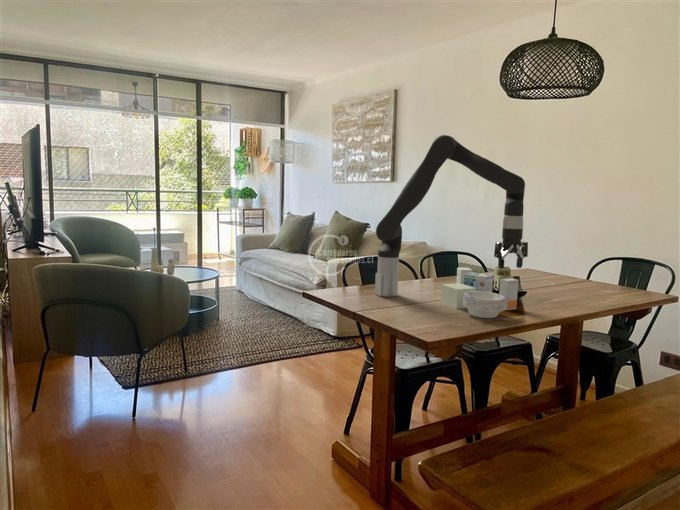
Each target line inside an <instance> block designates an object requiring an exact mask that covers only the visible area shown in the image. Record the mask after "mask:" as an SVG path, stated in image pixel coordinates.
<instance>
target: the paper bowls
mask: <svg viewBox="0 0 680 510" xmlns="http://www.w3.org/2000/svg"><path fill="white" fill-rule="evenodd" d="M505 301H506V298H505V297H504V296H502V295H500V294H499V293H496V292H492V293H491V292H482V291H470V292H466V293H464V299H463V306H464V307H465V308H464V309H467V311H468V314H469V315H470V316H472V317H475V318H479V319H493V318H497V317H498V316H499V315H500V313H502V312H504V311H506V310H505Z"/></svg>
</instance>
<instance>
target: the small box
mask: <svg viewBox="0 0 680 510" xmlns="http://www.w3.org/2000/svg"><path fill="white" fill-rule="evenodd" d="M470 272H474V270H473V269H471V268H470V267H457V268H456V283H460V284H464V274H466V273H470Z"/></svg>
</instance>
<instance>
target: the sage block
mask: <svg viewBox="0 0 680 510" xmlns="http://www.w3.org/2000/svg"><path fill="white" fill-rule="evenodd" d="M440 288H441V289H440V291H441V293H440V304H443V305H445V306H447V307H451V308H453V309H456V310H458V309H459V310H460V309H466V308H465V307H464V306H463V299H464V293H466V292H470V291H476V288H474V287H470V286H467V285H464V284H460V283H457V282H455V283H443V284H441V287H440Z"/></svg>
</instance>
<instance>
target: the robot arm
mask: <svg viewBox="0 0 680 510" xmlns="http://www.w3.org/2000/svg"><path fill="white" fill-rule="evenodd" d="M447 160H451V161H454V162H456V163H458V164H460V165H462V166H464V167H466V168H467V169H469V170H470V171H471V172H472V173H474V174H476V175H477V176H479V177H481V178H482V179H484V180H486V181H487V182H490V183H492V184H495V185H497V186H498V187H499V188H501V189H503V190H504V191H505V203H504V210H503V220H502V230H501V231H502V233H501V238H502V242H499V241H496V242H495V245H494V252H493V253H494V254H493V256H494V258H497V259H498V260H497V261H498V262H497V266H498V268H499V269H500V270H501V269H502V270H503V269H504V268H505V258H506V257H507V256H508V255H509V254H515V255H516V265H515V266H516V268H518V269H521V268H522V267H523V262H524V259H525V258H527V257H528V255H529V253H528V252H529V243H528V242H527V241H522V240H523V234H524V231H523V230H524V206H525V205H524V197H525V188H526V182H525V180H524V178H523V177H522V176H519V175H517V174H515V173H514V172H512V171H509V170H507V169H505V168H503V167H502V166H501V165H499V164H497V163H495V162H494V161H491V160H490V159H487V158H485V157H483V156H482V155H479V154H477V153H475V152H473V151H472V150H470V149H468V148H466V147H465V146H463V144H461V143H460V142H459V141H457V140H456V139H455V138H454V137H453V136H451V135H449V134H448V135H445V134H443V135H442V134H441V135H439V136H437V137H436V138H435V139H434V140H433V142H432V143H431V145H430V147H429V149H428V151H427V153H426V154H425V156H424V159H423V160H422V162H421V163H420V164H419V166H418V167H417V169H416V170H415V171H414V172H413V174H412V175H411V176H410V178H409V179H408V181H407V182H406V184H405V185H404V187H403V188H402V190H401V192H400V194H399V195H398V196H397V198H396V200H395V201H394V202H393V204H392V206H391V208H390V209H389V210H388V212H387V213H386V214H385V215H384V216H383V217H382V218H381V220H380V221H379V222H378V224H377V226H376V228H375V235H376V238H377V239H378V240H379V241H381V245H380V247H379V248H378V251H377V272H375V280H374V282H375V284H374V287H375V288H374V294H375V295H377V296H379V297H387V298H389V297H390V298H391V297H397V296H398V294H399V293H398V291H399V288H398V287H399V265H400V263H399V262H400V252H401V249H402V240H403V239H402V238H403V229H402V222H403V220H404V219H405V218H406V217H407V216H408V215H409V214H410V213H411V212H412V211H413V210H414V209H416V208H417V207H418V205H420V203H421V202H423V200H424V198H425V197H426V196H427V193H429V190H430V188H431V186H432V185H433V182H434V180H435V176H436V174H437V173H438V172H439V169H440V168H441V167H442V166H443V165H444V163H445V162H446V161H447Z"/></svg>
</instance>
